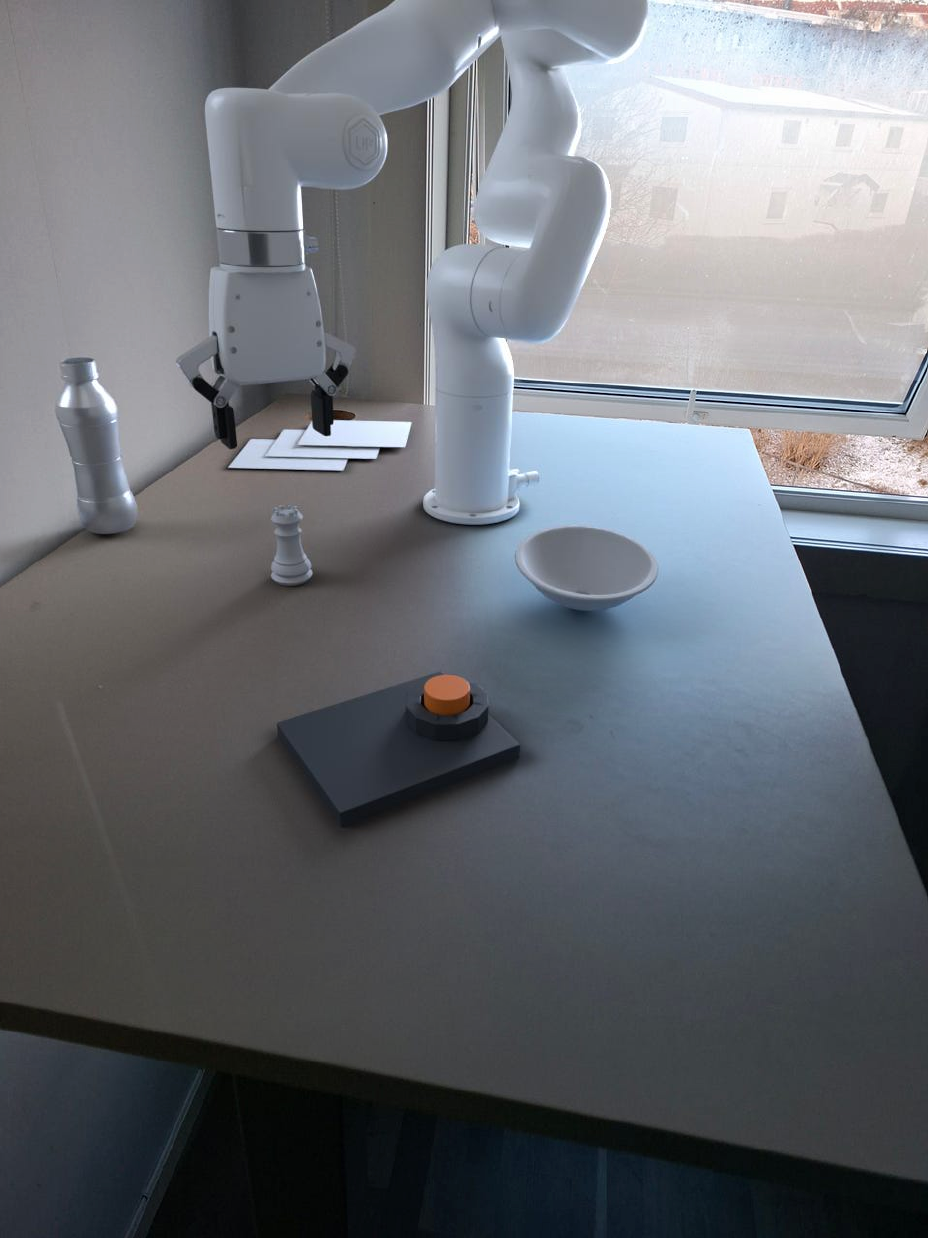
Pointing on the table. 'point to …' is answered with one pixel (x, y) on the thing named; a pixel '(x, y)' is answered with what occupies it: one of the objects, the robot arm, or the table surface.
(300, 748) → the scale
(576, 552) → the dish
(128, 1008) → the table surface
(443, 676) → the button
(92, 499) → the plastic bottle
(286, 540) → the rook chess piece
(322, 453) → the paper stack
